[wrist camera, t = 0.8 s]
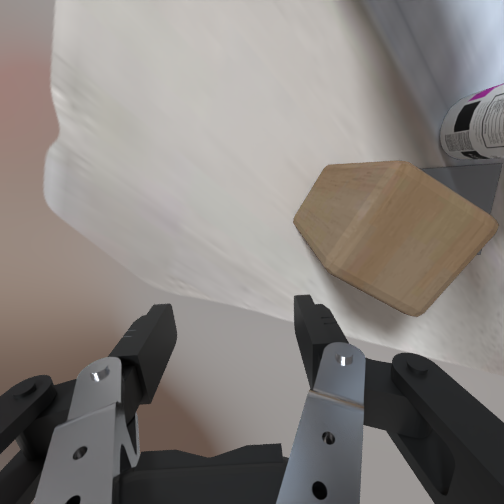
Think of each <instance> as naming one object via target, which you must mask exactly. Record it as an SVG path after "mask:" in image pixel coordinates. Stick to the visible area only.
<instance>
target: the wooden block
mask: <svg viewBox="0 0 504 504" xmlns="http://www.w3.org/2000/svg"><path fill="white" fill-rule="evenodd" d="M293 223H294V224H295V226H296V227H297V228H298V230H299V231H300V233H301V234H302V236H303V237H304V238H305V240H306V241H307V243H308V244H309V246H310V247H311V248H312V250H313V251H314V253H315V254H316V256H317V257H318V259H319V260H320V261H321V263H322V264H323V266H324V267H325V268H326V270H327V271H328V272H329V273H330V274H331V275H333V276H335V277H337V278H339V279H341V280H343V281H345V282H346V283H348V284H350V285H352V286H354V287H356V288H358V289H359V290H361V291H363V292H365V293H367V294H369V295H371V296H372V297H374V298H376V299H378V300H380V301H382V302H384V303H385V304H387V305H389V306H391V307H393V308H395V309H397V310H398V311H400V312H402V313H404V314H407V315H410V316H415V317H418V316H420V315H422V314H423V313H425V312H426V310H427V309H428V308H429V307H430V306H431V305H432V304H433V303H434V301H435V300H436V299H437V298H438V297H439V296H440V295H441V294H442V293H443V291H444V290H445V289H446V288H447V287H448V286H449V285H450V284H451V282H452V281H453V280H454V279H455V278H456V277H457V276H458V275H459V274H460V272H461V271H462V270H463V269H464V268H465V267H466V266H467V265H468V263H469V262H470V261H471V260H472V259H473V258H474V257H475V256H476V254H477V253H478V252H479V251H480V250H481V249H482V248H483V247H484V246H485V244H486V243H487V242H488V241H489V240H490V239H491V238H492V237H493V235H494V234H495V233H496V231H497V229H498V226H499V224H498V223H497V221H496V220H495V219H494V218H493V217H492V216H491V215H490V214H488V213H487V212H485V211H483V210H482V209H480V208H479V207H477V206H476V205H474V204H473V203H471V202H470V201H468V200H466V199H465V198H463V197H462V196H460V195H459V194H457V193H456V192H454V191H453V190H451V189H449V188H448V187H446V186H445V185H443V184H442V183H440V182H439V181H437V180H436V179H434V178H432V177H431V176H429V175H428V174H426V173H425V172H423V171H422V170H420V169H419V168H417V167H415V166H414V165H412V164H411V163H409V162H406V161H383V162H366V163H350V164H333V165H328V166H326V167H325V168H324V169H323V171H322V172H321V174H320V176H319V177H318V179H317V181H316V182H315V184H314V186H313V187H312V189H311V190H310V192H309V194H308V195H307V197H306V199H305V200H304V202H303V204H302V205H301V207H300V209H299V210H298V212H297V213H296V215H295V217H294V221H293Z"/></svg>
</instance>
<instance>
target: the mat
mask: <svg viewBox="0 0 504 504" xmlns="http://www.w3.org/2000/svg"><path fill="white" fill-rule="evenodd" d="M502 164H503V163H502ZM502 164H487V165H472V166H458V167H443V168H429V169H420V170H422V171H423V172H425V173H426V174H428V175H429V176H431V177H432V178H434V179H436V180H437V181H439V182H440V183H442V184H443V185H445V186H446V187H448V188H449V189H451V190H453V191H454V192H456V193H457V194H459V195H460V196H462V197H463V198H465V199H466V200H468V201H470V202H471V203H473V204H474V205H476V206H477V207H479V208H480V209H482V210H483V211H485V212H487V213H488V214H490V213H491V209H492V205H493V201H494V197H495V192H496V188H497V184H498V180H499V176H500V172H501V168H502ZM481 250H482V249H481ZM481 250H480V251H479V252H478V253H477V254H476V255H480V254H481Z"/></svg>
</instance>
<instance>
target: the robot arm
mask: <svg viewBox="0 0 504 504" xmlns="http://www.w3.org/2000/svg"><path fill="white" fill-rule="evenodd" d="M294 326H295V334H296V338H297V342H298V345H299V349H300V353H301V356H302V360H303V363H304V367H305V370H306V374H307V378H308V381H309V385H310V388H311V389H310V390H309V392H308V395H307V398H306V402H305V405H304V409H303V412H302V416H301V419H300V422H299V426H298V429H297V433H296V436H295V440H294V443H293V447H292V450H291V454H290V457H289V458H287V457H283V456H282V448H281V444H263V445H247V446H244V447H241V448H238V449H235V450H232V451H229V452H226V453H223V454H221V455H218V456H215V457H211V458H207V457H203V456H199V455H195V454H191V453H187V452H182V451H179V450H163V451H146V452H141V454H140V450H139V432H138V417H137V413H136V411H137V409H138V406H139V405H140V404H150V403H151V402H152V399H153V397H154V394H155V392H156V390H157V387H158V385H159V383H160V380H161V378H162V375H163V373H164V371H165V368H166V365H167V363H168V361H169V359H170V356H171V354H172V351H173V349H174V347H175V344H176V340H177V330H176V325H175V320H174V315H173V310H172V306H171V304H158V305H153V306H152V308H151V309H150V311H149V312H148V313H147V315H145V316H142V317H140V318H139V319H137V320H136V321H135V322H133V324H132V325H131V327H130V328H129V329H128V331H127V332H126V333H125V335H124V336H123V338H121V340H120V341H119V343H118V344H117V345H116V346H115V348H114V349H113V350H112V352H111V353H110V354H109V356H108V357H106V358H102V359H99V360H97V361H95V362H93V363H91V364H89V365H88V366H87V367H86V368H84V369H83V370H82V371H81V372H80V374H79V375H78V377H77V379H75V380H71V381H67V382H64V383H61V384H57V385H54V384H53V382H52V379H51V377H50V376H47V375H39V376H34V377H32V378H28V379H26V380H24V381H22V382H20V383H18V384H16V385H15V386H13V387H12V388H10V389H9V390H8V391H7V392H5V393H4V394H3V395H1V396H0V454H1V453H2V452H3V451H4V450H5V449H6V448H7V447H8V446H9V445H10V444H11V443H12V442H13V441H14V440H16V442H17V444H18V445H19V447H20V449H21V450H20V451H19V452H18V453H17V454H16V455H15V456H14V458H13V459H12V460H11V461H10V462H9V463H8V464H7V465H6V466H5V467H4V468H3V469H2V470H1V472H0V504H30V503H31V502H32V501H33V499H34V498H35V499H34V503H33V504H360V484H361V463H362V441H363V425H366V426H370V427H374V428H378V429H382V430H386V431H387V433H388V434H389V436H390V437H391V439H392V440H393V442H394V443H395V445H396V446H397V448H398V449H399V451H400V452H401V454H402V455H403V457H404V458H405V460H406V461H407V463H408V464H409V466H410V467H411V469H412V470H413V472H414V473H415V475H416V476H417V478H418V479H419V481H420V482H421V484H422V485H423V487H424V488H425V490H426V491H427V493H428V494H429V496H430V497H431V499H432V500H433V502H434V503H435V504H504V423H503V422H502V421H501V420H500V419H499V418H497V417H496V416H495V415H494V414H493V413H492V412H491V411H489V410H488V409H487V408H486V407H485V406H484V405H483V404H481V403H480V402H479V401H478V400H477V399H476V398H474V397H473V396H472V395H471V394H470V393H469V392H468V391H466V390H465V389H464V388H463V387H462V386H460V385H459V384H458V383H457V382H456V381H455V380H454V379H452V378H451V377H450V376H449V375H448V374H447V373H445V372H444V371H443V370H442V369H441V368H440V367H439V366H438V365H436V364H435V363H434V362H432V361H431V360H429V359H427V358H425V357H423V356H421V355H417V354H413V353H400V354H397V355H395V356H394V358H393V360H392V363H386V362H381V361H375V360H371V359H368V358H365V355H364V354H363V352H362V351H361V350H360V349H358V348H357V347H355V346H353V345H351V344H349V342H348V341H347V339H346V337H345V335H344V334H343V332H342V330H341V328H340V327H339V325H338V324H337V321H336V320H335V318H334V316H333V314H332V313H331V311H330V309H328V308H327V307H325V306H324V305H323V304H314V302H313V300H312V298H311V296H310V295H295V296H294Z"/></svg>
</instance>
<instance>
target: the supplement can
mask: <svg viewBox="0 0 504 504" xmlns="http://www.w3.org/2000/svg"><path fill="white" fill-rule="evenodd" d="M440 141H441V144H442V147H443V149H444V151H445V152H446V153H447V154H448V155H449V156H450V157H453V158H456V159H459V160H466V159H490V158H504V84H501V85H498V86H495V87H492V88H489V89H486V90H483V91H480V92H477V93H474V94H471V95H469V96H467V97H464V98H462V99H460V100H459V101H458V102H457V103H456V104H455V105H454V106H452V107H451V109H450V110H449V112H448V113H447V115H446V116H445V118H444V120H443V123H442V126H441V130H440Z"/></svg>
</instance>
